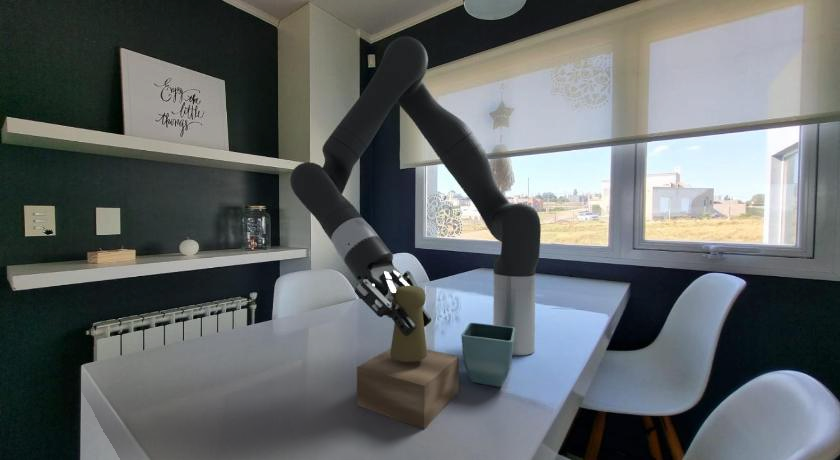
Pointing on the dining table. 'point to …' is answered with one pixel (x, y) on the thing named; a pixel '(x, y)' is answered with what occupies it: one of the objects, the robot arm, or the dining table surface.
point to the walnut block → (408, 386)
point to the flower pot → (488, 352)
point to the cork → (412, 304)
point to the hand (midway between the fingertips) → (419, 327)
